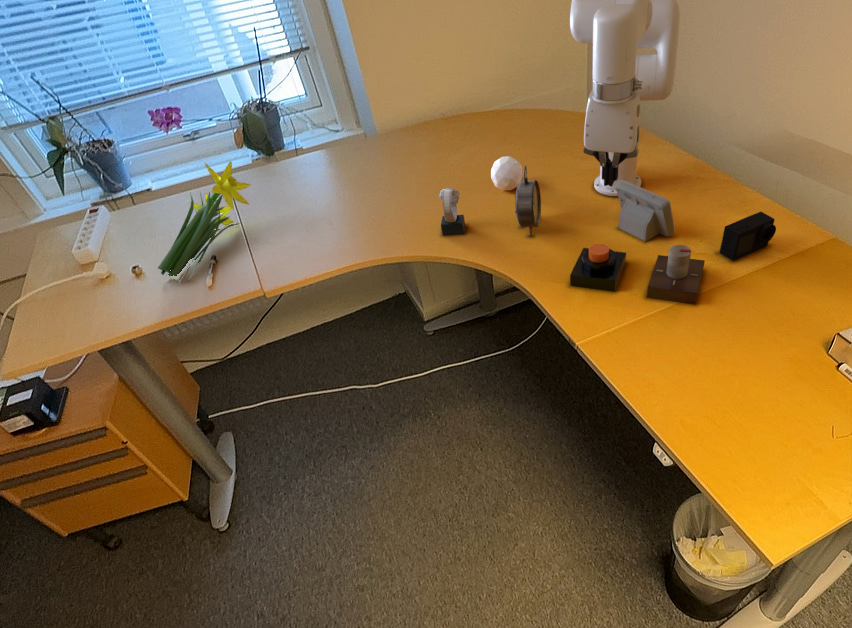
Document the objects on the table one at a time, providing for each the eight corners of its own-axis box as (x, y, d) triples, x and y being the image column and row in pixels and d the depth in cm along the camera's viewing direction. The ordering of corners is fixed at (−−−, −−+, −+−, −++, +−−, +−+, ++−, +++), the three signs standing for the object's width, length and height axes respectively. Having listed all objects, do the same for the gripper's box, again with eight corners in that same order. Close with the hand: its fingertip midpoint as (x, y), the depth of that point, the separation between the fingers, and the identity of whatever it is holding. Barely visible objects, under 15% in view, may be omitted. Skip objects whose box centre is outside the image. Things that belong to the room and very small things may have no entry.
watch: (466, 221, 152) (459, 181, 144) (463, 238, 146) (456, 197, 138) (445, 222, 152) (437, 183, 144) (441, 239, 147) (433, 199, 139)
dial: (664, 277, 122) (668, 254, 118) (667, 266, 125) (670, 242, 120) (686, 280, 121) (690, 256, 116) (688, 268, 123) (692, 244, 119)
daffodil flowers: (145, 281, 149) (209, 184, 163) (202, 305, 153) (260, 208, 167) (130, 246, 134) (203, 143, 148) (194, 274, 138) (259, 170, 152)
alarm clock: (536, 239, 143) (532, 176, 131) (515, 239, 144) (509, 177, 132) (542, 216, 150) (539, 155, 138) (522, 216, 151) (517, 155, 139)
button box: (583, 258, 135) (583, 239, 131) (625, 263, 132) (626, 244, 128) (570, 286, 128) (570, 267, 125) (614, 292, 125) (615, 273, 122)
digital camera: (736, 264, 128) (742, 236, 122) (718, 253, 131) (724, 225, 126) (771, 248, 130) (779, 220, 125) (753, 238, 134) (760, 210, 129)
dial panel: (656, 266, 130) (658, 254, 128) (702, 271, 127) (705, 259, 125) (646, 298, 123) (647, 285, 120) (694, 304, 120) (697, 292, 117)
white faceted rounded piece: (532, 184, 158) (518, 172, 167) (518, 154, 152) (505, 143, 161) (505, 201, 159) (493, 188, 168) (490, 172, 153) (479, 159, 162)
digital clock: (678, 237, 137) (683, 196, 129) (646, 250, 135) (650, 208, 127) (637, 209, 147) (640, 169, 139) (607, 220, 145) (609, 180, 137)
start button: (591, 250, 129) (591, 242, 127) (611, 253, 127) (611, 244, 126) (586, 261, 126) (586, 253, 125) (606, 264, 125) (606, 256, 123)
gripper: (659, 80, 104) (650, 176, 117) (578, 78, 108) (579, 171, 122) (650, 97, 99) (642, 195, 113) (567, 94, 104) (569, 189, 117)
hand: (609, 182), depth 117 cm, fingers closed
